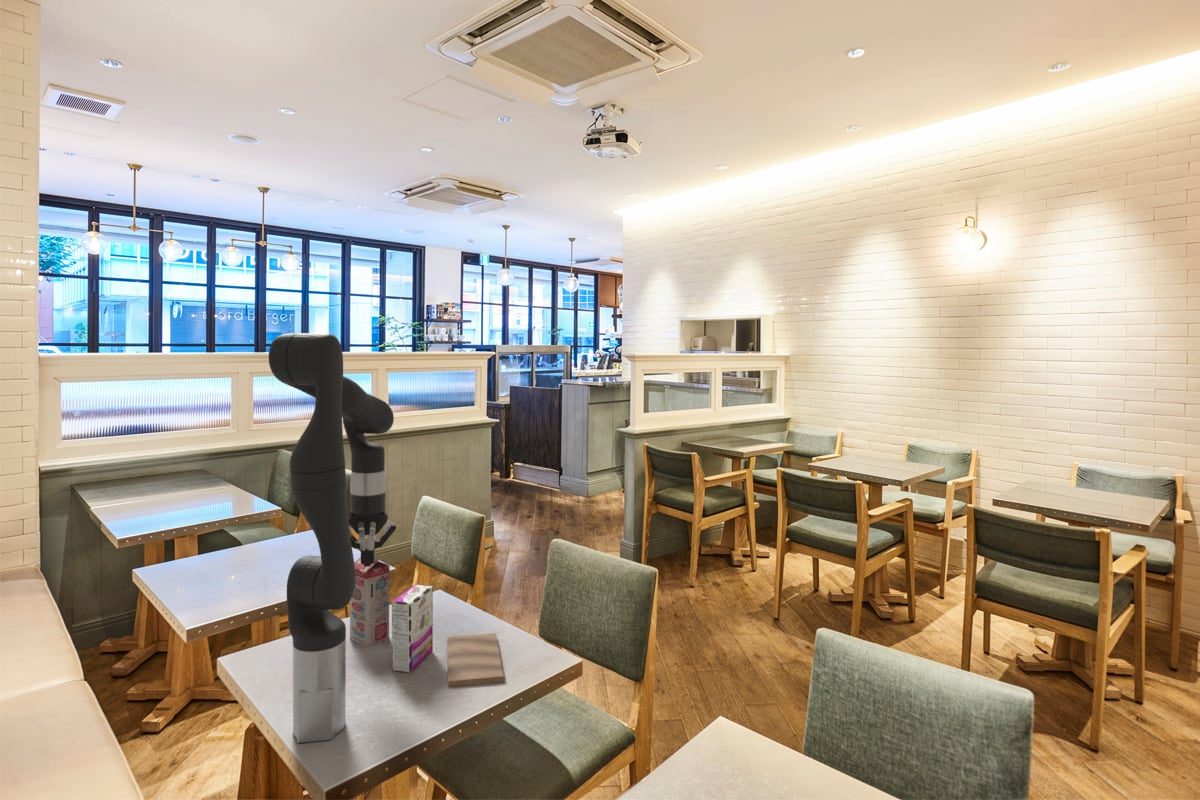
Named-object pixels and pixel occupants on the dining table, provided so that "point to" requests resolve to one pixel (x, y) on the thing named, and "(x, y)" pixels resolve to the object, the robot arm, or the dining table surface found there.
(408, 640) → the candy bar box
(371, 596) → the juice carton
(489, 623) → the dining table surface
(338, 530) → the robot arm
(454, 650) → the walnut board
